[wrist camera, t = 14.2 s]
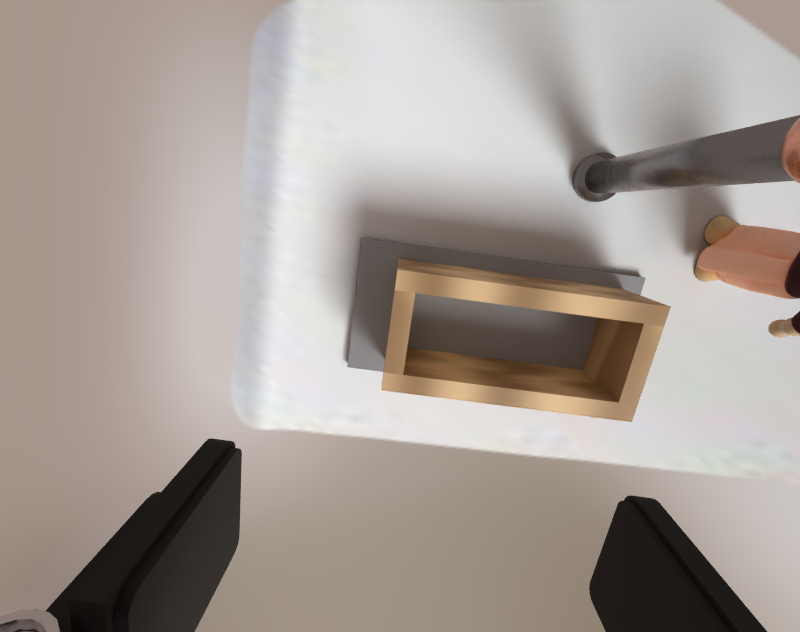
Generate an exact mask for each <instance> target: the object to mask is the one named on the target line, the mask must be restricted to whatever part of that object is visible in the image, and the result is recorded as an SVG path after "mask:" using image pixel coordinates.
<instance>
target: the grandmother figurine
mask: <svg viewBox="0 0 800 632" xmlns="http://www.w3.org/2000/svg"><path fill="white" fill-rule="evenodd" d="M704 236H705V240H706V241H707V242H708V243H709V244H711V246H708V247H707V248H705V249H704V250H703V251H702V253H701V254H700V256H699V258H698V262H697V264H696V268H695V275H696V277H697V278H698V279H699V280H701V281H714V280H720V279H721V280H722V281H723V282H725V283H728V284H731V285H734V286H737V287H740V288H743V289H746V290H750V291H754V292H758V293H764V294H768V295H772V296H776V297H781V298H788V299H797V298H800V233H796V232H791V231H785V230H779V229H772V228H765V227H756V226H746V225H739V224H738V223H736V222H735V221H733V220H732V219H730V218H728V217H725V216H720V217H716V218H714V219H713V220H712V221H710V223H709V224H708V226H707V227H706V230H705V233H704ZM768 329H769V332H770V333H771V334H772V335H773V336H775V337H786V336H789V335H791V336H800V311H799V312H798V313H797V314H796V315H795V316H794V317H793V318H790V319H787V320H776V321H774V322H772V323H771V324H770V325H769V328H768Z"/></svg>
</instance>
